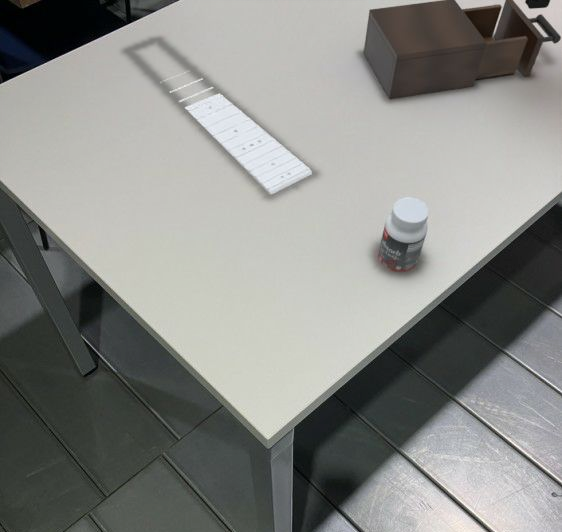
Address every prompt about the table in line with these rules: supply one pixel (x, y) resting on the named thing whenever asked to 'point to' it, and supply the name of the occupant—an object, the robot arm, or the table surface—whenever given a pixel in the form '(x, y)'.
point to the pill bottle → (404, 235)
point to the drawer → (509, 38)
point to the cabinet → (423, 48)
